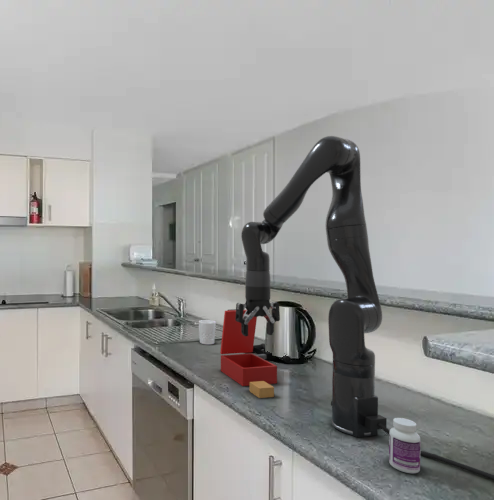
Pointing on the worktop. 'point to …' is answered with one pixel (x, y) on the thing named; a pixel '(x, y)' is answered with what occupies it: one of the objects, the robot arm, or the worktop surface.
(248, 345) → the box lid
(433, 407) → the worktop surface
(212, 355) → the worktop surface
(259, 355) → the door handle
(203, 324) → the white cup
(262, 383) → the block
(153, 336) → the worktop surface
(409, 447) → the pill bottle
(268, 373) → the red open box
